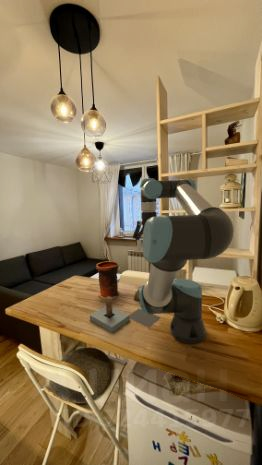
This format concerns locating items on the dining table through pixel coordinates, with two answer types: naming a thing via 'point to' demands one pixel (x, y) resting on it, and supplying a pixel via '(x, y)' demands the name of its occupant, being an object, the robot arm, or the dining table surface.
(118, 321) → the block
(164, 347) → the dining table surface
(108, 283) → the vessel
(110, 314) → the peg
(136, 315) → the mat
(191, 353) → the dining table surface
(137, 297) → the rock
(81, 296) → the dining table surface
